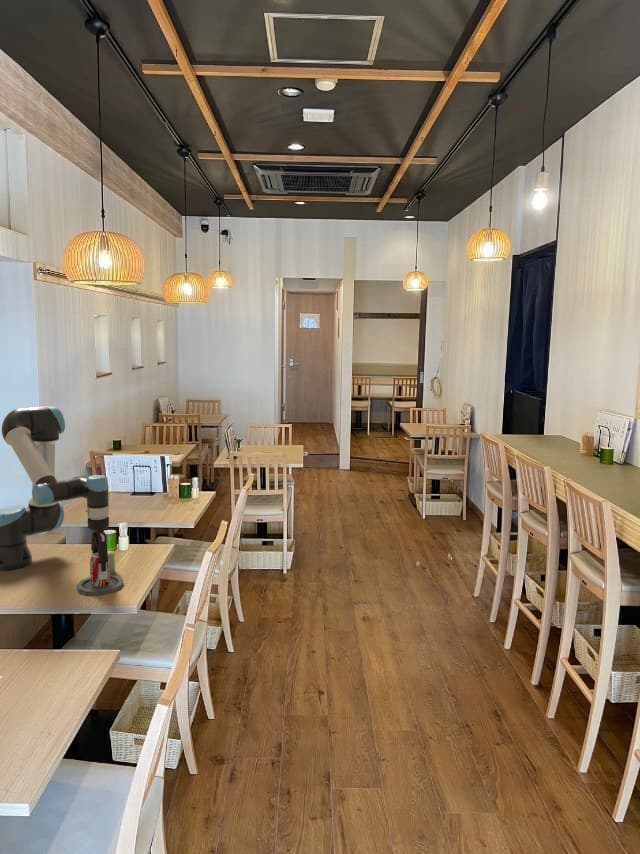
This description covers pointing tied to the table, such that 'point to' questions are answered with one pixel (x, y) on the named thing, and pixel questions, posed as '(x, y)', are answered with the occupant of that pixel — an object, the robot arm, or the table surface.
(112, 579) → the saucer
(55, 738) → the table surface
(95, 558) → the soda can
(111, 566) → the tea canister
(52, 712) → the table surface
